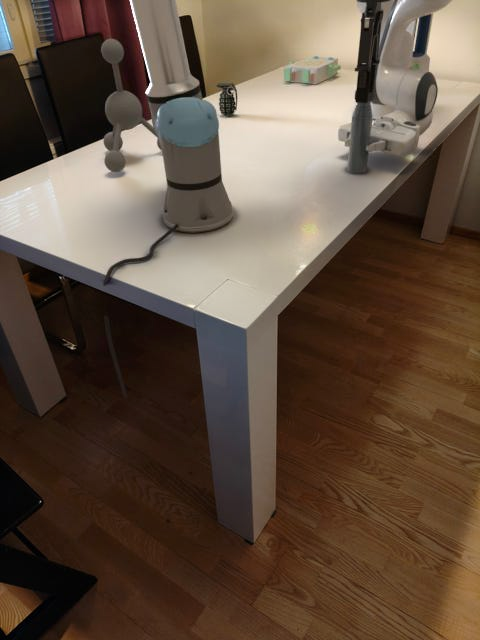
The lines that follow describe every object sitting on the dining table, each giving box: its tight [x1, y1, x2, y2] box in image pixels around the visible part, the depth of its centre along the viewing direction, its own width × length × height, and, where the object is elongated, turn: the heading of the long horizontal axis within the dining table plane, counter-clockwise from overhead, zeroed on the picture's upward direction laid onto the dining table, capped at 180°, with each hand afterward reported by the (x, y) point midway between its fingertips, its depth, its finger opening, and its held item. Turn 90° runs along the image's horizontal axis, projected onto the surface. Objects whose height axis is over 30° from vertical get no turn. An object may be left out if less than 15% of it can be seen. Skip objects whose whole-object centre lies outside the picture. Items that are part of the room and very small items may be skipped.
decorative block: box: [283, 55, 342, 85], centre depth 206 cm, size 26×6×20 cm
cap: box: [354, 89, 375, 101], centre depth 114 cm, size 4×4×2 cm
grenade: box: [215, 82, 238, 117], centre depth 166 cm, size 7×6×10 cm
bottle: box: [347, 101, 374, 175], centre depth 119 cm, size 5×5×18 cm
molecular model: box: [100, 38, 162, 173], centre depth 130 cm, size 24×22×30 cm
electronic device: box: [406, 13, 434, 72], centre depth 173 cm, size 12×8×30 cm, turn 105°
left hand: (364, 98), depth 114 cm, fingers open, 6 cm apart
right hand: (357, 146), depth 120 cm, fingers closed on bottle, 5 cm apart
